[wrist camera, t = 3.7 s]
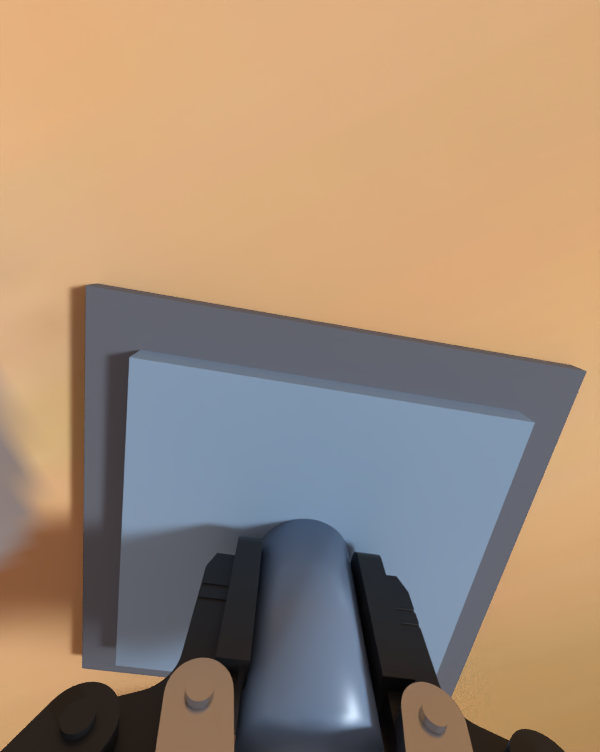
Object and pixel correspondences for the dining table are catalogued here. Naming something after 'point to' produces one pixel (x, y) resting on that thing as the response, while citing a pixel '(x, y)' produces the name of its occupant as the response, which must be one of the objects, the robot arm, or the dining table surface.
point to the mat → (305, 358)
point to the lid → (301, 527)
